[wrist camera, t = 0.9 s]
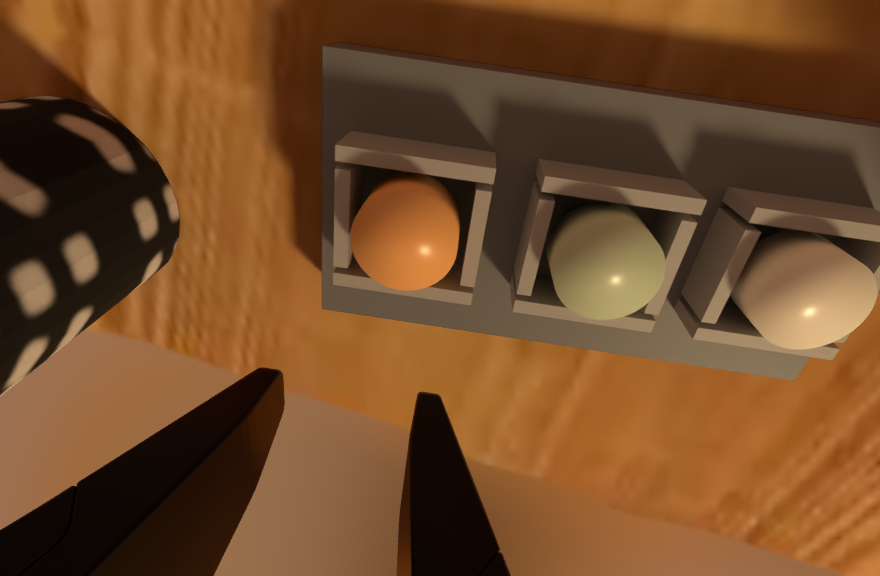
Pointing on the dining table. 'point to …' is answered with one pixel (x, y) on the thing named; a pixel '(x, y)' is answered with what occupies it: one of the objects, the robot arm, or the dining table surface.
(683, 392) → the dining table surface
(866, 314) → the cream button
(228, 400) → the robot arm
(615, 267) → the sage button
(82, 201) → the spotted tube
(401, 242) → the orange button
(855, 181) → the rack
